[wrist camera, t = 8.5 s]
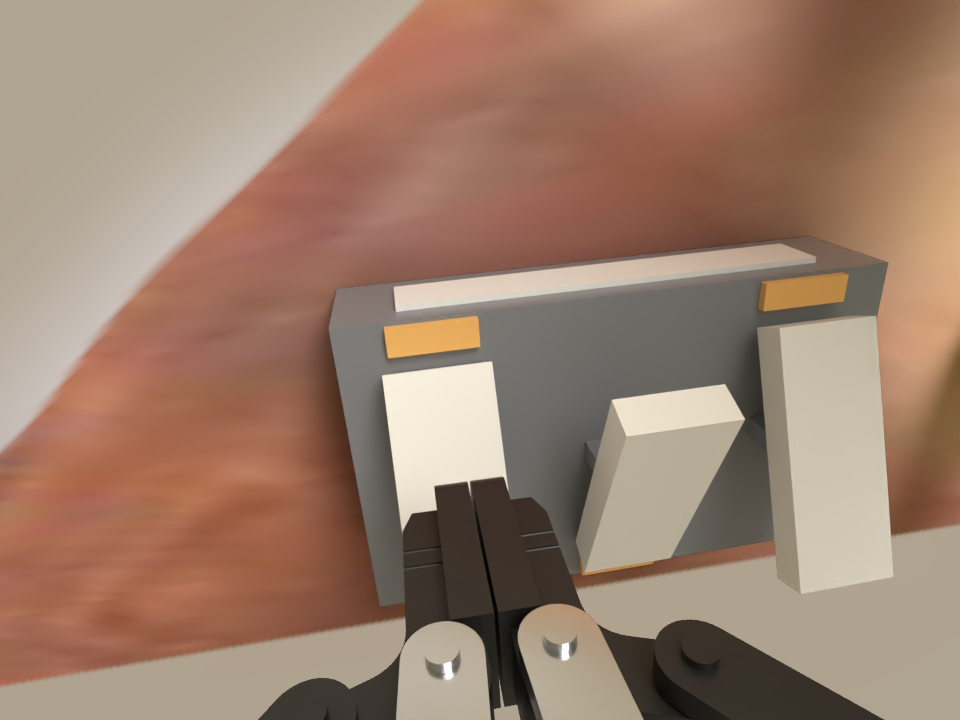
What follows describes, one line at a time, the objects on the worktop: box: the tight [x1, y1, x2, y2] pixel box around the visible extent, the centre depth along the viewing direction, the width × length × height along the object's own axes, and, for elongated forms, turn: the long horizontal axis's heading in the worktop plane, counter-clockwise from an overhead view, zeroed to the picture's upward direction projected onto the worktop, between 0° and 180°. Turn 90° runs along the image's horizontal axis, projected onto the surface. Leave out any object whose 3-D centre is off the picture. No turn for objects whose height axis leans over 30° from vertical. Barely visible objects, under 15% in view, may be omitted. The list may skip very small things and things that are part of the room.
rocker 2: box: [576, 384, 745, 573], centre depth 19 cm, size 3×8×1 cm, turn 4°
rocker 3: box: [757, 316, 894, 594], centre depth 20 cm, size 3×8×1 cm, turn 5°
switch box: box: [329, 236, 888, 607], centre depth 22 cm, size 18×11×5 cm, turn 94°
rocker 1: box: [382, 362, 508, 536], centre depth 18 cm, size 3×8×1 cm, turn 4°
